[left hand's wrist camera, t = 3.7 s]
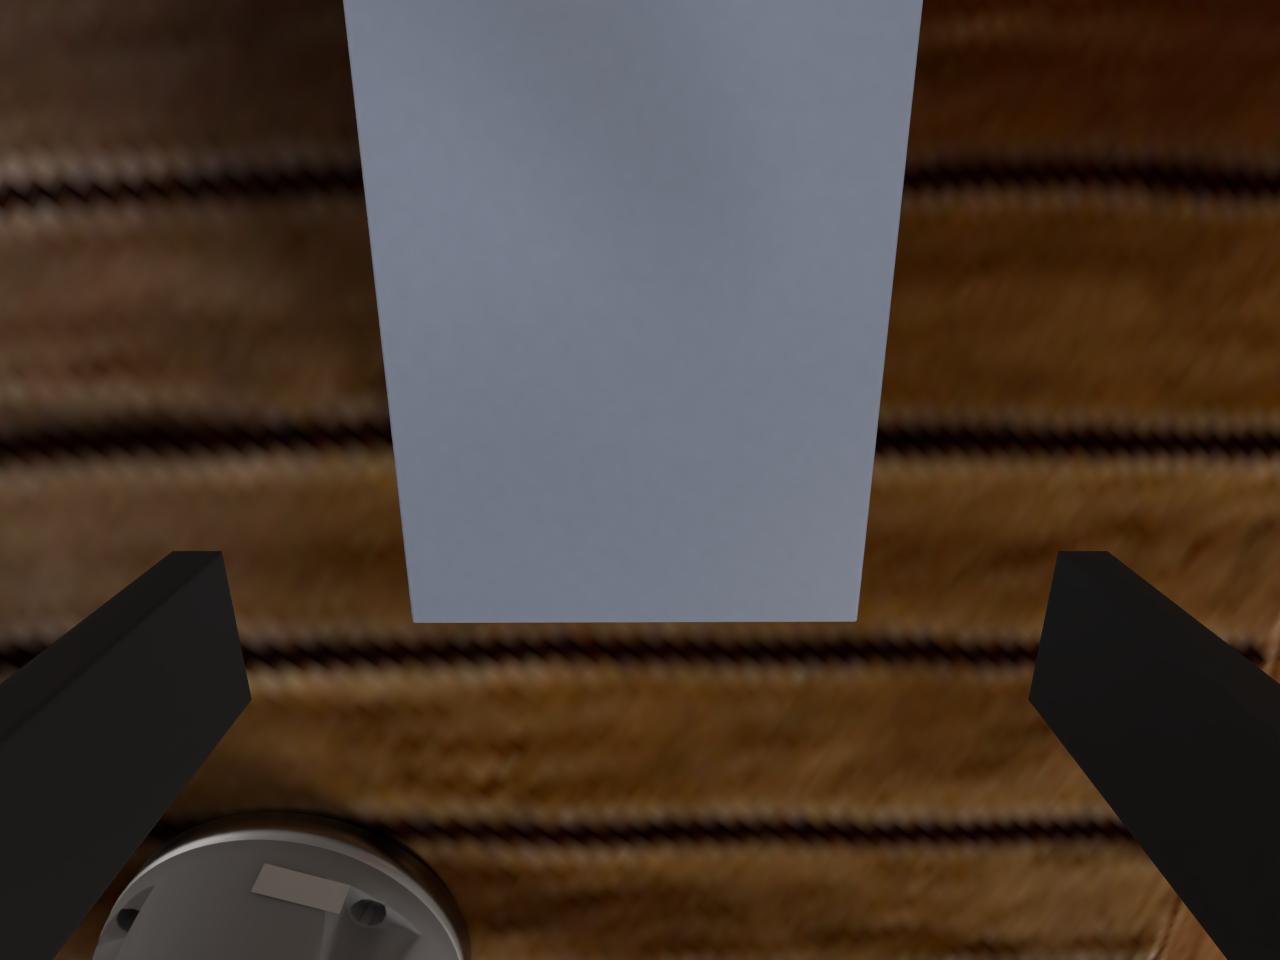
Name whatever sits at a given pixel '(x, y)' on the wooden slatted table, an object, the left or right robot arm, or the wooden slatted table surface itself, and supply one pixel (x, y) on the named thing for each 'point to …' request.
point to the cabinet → (633, 297)
